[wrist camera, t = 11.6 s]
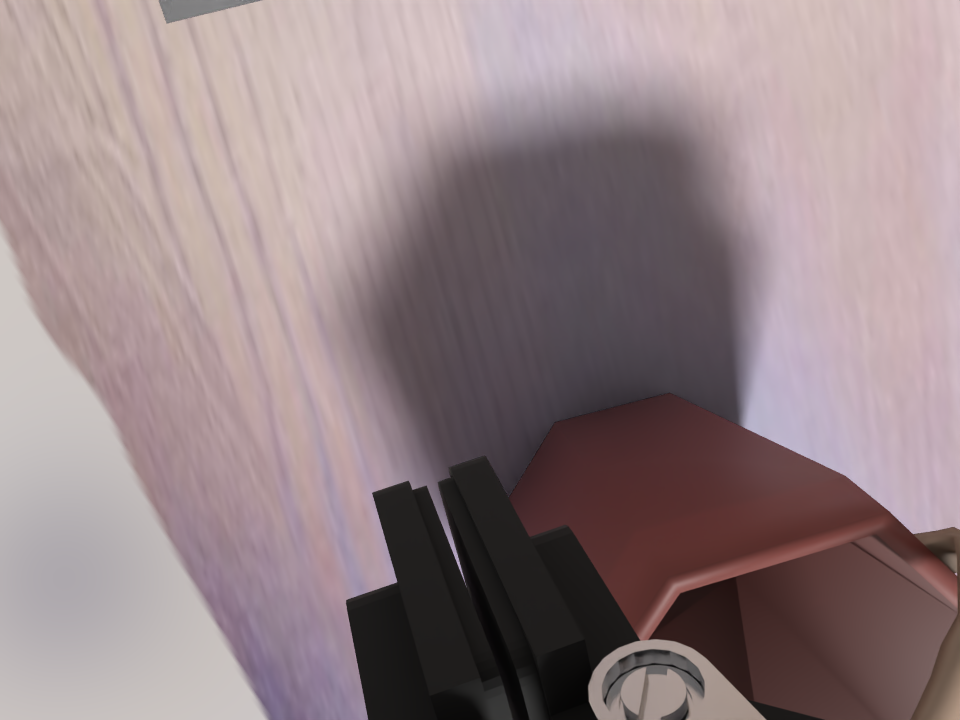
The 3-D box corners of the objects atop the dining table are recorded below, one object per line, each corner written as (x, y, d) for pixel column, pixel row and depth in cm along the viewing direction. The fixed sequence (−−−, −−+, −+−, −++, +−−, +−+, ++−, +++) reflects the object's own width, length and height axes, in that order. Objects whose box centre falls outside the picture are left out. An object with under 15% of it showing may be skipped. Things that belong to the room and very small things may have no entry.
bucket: (548, 712, 63) (724, 1114, 41) (357, 514, 53) (454, 904, 31) (833, 505, 62) (1169, 799, 40) (695, 264, 52) (1042, 479, 30)
